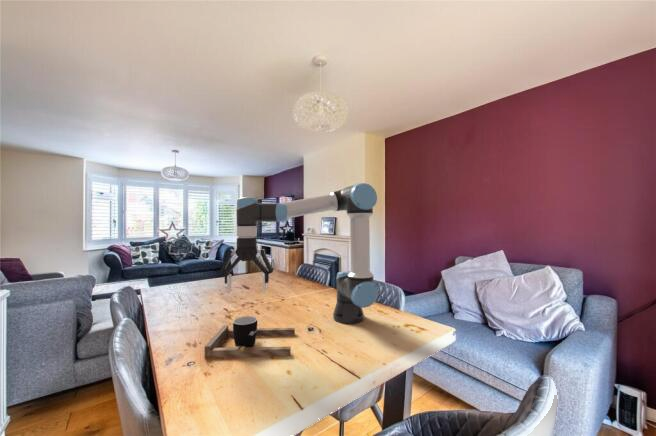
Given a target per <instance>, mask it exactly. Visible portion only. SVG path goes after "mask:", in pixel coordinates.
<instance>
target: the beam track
mask: <svg viewBox="0 0 656 436" xmlns="http://www.w3.org/2000/svg"><path fill="white" fill-rule="evenodd" d="M295 333H296V327H270V328H268V327H265V328H261V327H257V335H256V337H290V336H291V337H295V336H296V334H295ZM230 337H231V338H234V334H233V328H229V325H225V324H224V325H222V327H221V328H220V329H219V330H218V331H217V332H216V333H215V334H214V335H213V337H212V338H210V340H209V341H208V342H207V343H206V344H205V345H204V359H207V358H208V359H212V358H214V359H216V358H217V359H218V358H256V357H257V358H258V357H261V358H263V357H264V358H265V357H267V358H268V357H291V353H292V352H291V350H292V348H291V346H253V347H245V346H241V345H240V346H235V347H221V345H222V344H223V342H224V341H225V340H226V339H227V338H230Z"/></svg>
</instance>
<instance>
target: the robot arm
mask: <svg viewBox="0 0 656 436" xmlns="http://www.w3.org/2000/svg"><path fill="white" fill-rule="evenodd" d="M377 201H378V194H377V191H376V190H375V188H374V187H373V186H372V185H370V184H369V183H363V182H362V183H361V182H359V183H356V184H353V185H351V186H347V187H344V188H343V189H339V190H335V191H331V192H330V193H329V194H325V195H319V196H315V197H308V198H301V199H297V200H291V201H285V202H275V203H273V202H271V203H270V202H269V203H267V202H265V203H263V202H261V203H260V202H258V201H257V198H256V197H244V196H243V197H239V198H238V199H237V201H236V237H237V238H236V250H235V249H228V250H227V256H226V258H225V259H224V262H223V263H222V266H221V268H220V270H219V274H220V275H224V284H226V293H228V294H229V293H230V292H232V274H231V272H232V271H233V270H234V268H235V267H236V266H237V265H238V264H239V262H251V261H252V262H253V263H255V265H256V266H257V267H258V268H259V269H260V270H261V272H262V273H263V274H262V293H265V292H266V291H267V284H268V283H269V282H270V279H269V277H270V276H269V275H270V274H273V272H274V269H273V267H272V264H271V262H270V261H269V258H268V256H267V255H266V249H265V248H263V249H258V245H257V244H258V238H257V237H256V236H257V232H258V230H257V228H258V227H257V225H258V224H257V223H258V222H259V223H264V222H265V223H281V222H283V223H284V222H286V221H287V219H292V218H297V217H301V216H306V215H312V214H317V213H323V212H328V211H332V212H340V211H341V212H343V211H346V215H347V216H348V217H349V220H350V221H349V222H350V223H349V224H350V226H349V228H350V231H349V234H350V235H349V236H350V270H349V271H348V270H346V271H344V270H343V271H339V272H337V274H336V278H335V279H336V304H335V307H334V310H333V312H332V316H333V317H332V318H333V320H334V321H336V322H338V323H341V324H357V323H361V322H363V321H364V320H365V315H364V313H365V312H364V310H363V309H364V308H369V307H371V306H372V305H373V304H374V303H375V302H376V301H377V299H378V297H379V290H378V287H377V285H376V284H375V283H374V274H373V273H372V272H371V262H370V261H371V257H370V256H371V254H370V253H371V251H370V249H371V248H370V247H371V246H370V243H371V242H370V235H371V234H370V218H371V216H373V213H374V210H373V209H374V207H375V205H376V204H377ZM257 254H258V255H260V256H261V259H262V261H263V262H264V264H263V263H262V262H261V261H260V259H259V258H258V257H257ZM234 255H236V256H237V258H236V259H235V260H234V261H233V262H232V264H230V262H231V260H232V258H233V256H234ZM229 264H230V266H229ZM264 265H265V266H264ZM228 266H229V267H228ZM227 268H228V269H227Z"/></svg>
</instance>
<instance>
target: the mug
mask: <svg viewBox="0 0 656 436" xmlns="http://www.w3.org/2000/svg"><path fill="white" fill-rule="evenodd" d="M257 328H258V317H255V316H251V315H246V316H239V317H236V318H235V319H234V320H233V321H232V329H233V334H234V337H233V339H234V340H233V341H234V345H235V347H236V346H240V345H241V346H245V347H255V344H256V341H257V340H256V339H257V336H256V335H257Z"/></svg>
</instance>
